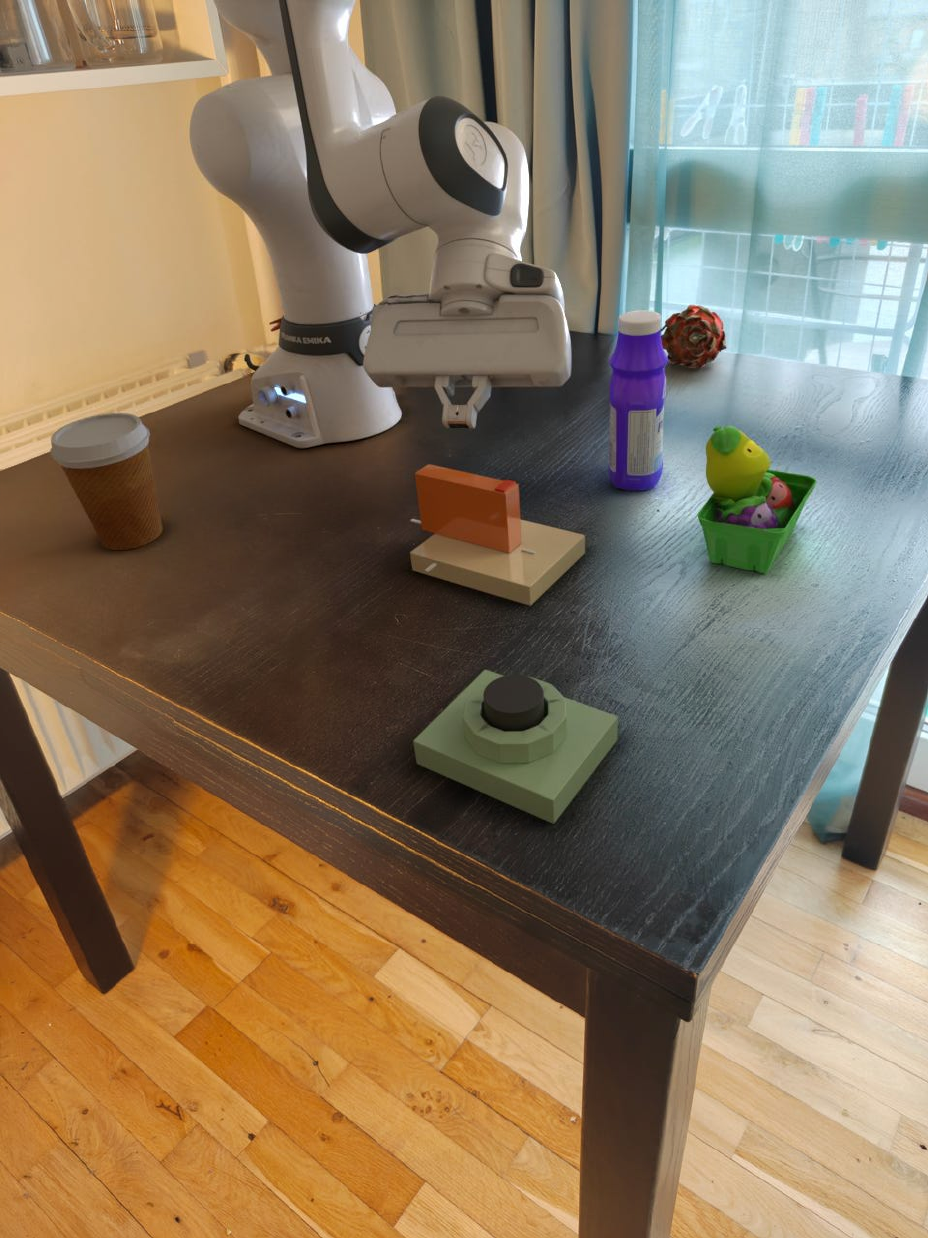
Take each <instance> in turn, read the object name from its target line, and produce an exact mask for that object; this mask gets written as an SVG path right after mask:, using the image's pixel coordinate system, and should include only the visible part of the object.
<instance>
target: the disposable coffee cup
mask: <svg viewBox="0 0 928 1238" xmlns="http://www.w3.org/2000/svg"><path fill="white" fill-rule="evenodd" d="M150 433H151V432H150V429H149V428H148V427H147V426H145V425H144V423H143V422H142V420H141V419H140V417H139V416H137V415H136V414H132V413H129V412H111V413H110V412H109V413H102V414H96V415H95V414H94V415H91V416H88V417H84V418H81V419H78V420H75V421H72V422H69V423H67V424H65V425H64V426H62V427H60V428H58V429H57V430H56V431H54V433H53V434H52V435H51V436H50V443H51V448H50V450H49V453H50V457H51V458H52V459H54V460H55V461H56V463H57V464H58V465H59V466H60V467H61V469H62V471H63V473H64V474H65V476H66V478H67V481H68V482H69V484H70V486H71V487H72V489H73V491H74V493H75V495H76V497H77V499H78V500H79V502H80V504H81V507H82V508H83V510H84V512H85V514H86V516H87V517H88V519H89V521H90V523H91V525H92V527H93V529H94V531H95V532H96V534H97V536H98V538H99V540H100V542H101V545H102V546H103V547H104V548H106V549H108V550H114V551H125V550H131V549H136V548H140V547H142V546H144V545H147V544H149V543H151V542H153V541H155V540H156V539H157V538H159V536H161V534H162V532H163V525H162V519H161V513H160V508H159V507H160V505H159V500H158V495H157V489H156V484H155V478H154V472H153V467H152V460H151V454H150V448H149V442H150V439H149V438H150V435H151V434H150Z"/></svg>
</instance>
